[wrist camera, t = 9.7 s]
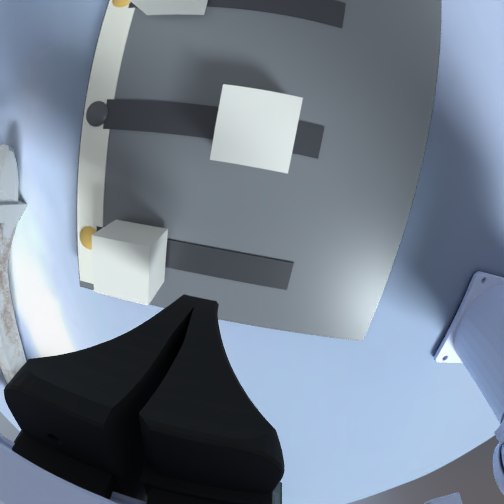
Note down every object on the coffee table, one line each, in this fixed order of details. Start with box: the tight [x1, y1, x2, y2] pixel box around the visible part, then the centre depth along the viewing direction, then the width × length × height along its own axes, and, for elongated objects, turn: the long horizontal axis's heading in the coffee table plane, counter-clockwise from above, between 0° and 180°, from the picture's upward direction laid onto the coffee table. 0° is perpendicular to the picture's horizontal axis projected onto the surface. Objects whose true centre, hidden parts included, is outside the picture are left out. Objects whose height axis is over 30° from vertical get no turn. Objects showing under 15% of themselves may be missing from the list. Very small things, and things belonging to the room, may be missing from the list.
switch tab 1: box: [92, 220, 168, 306], centre depth 14 cm, size 3×3×3 cm
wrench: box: [0, 144, 27, 384], centre depth 18 cm, size 8×2×30 cm
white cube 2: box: [210, 84, 303, 174], centre depth 12 cm, size 3×3×3 cm
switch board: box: [77, 0, 441, 341], centre depth 14 cm, size 18×22×2 cm
